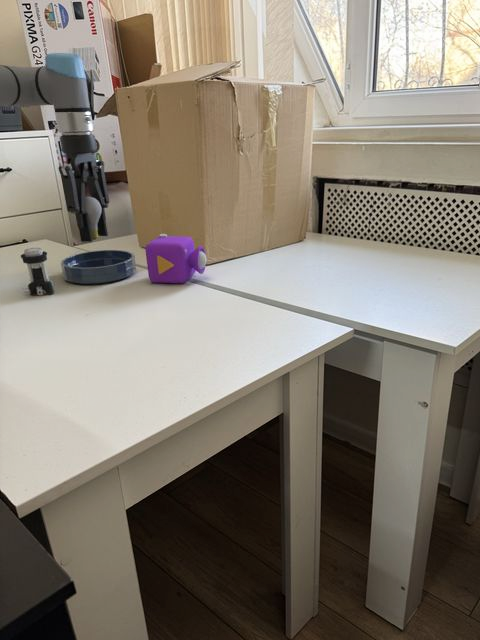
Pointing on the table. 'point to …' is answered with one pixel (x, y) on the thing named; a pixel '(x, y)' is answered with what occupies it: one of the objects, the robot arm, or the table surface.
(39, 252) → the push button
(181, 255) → the toy camera
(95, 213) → the light bulb
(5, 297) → the table surface
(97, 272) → the bowl
